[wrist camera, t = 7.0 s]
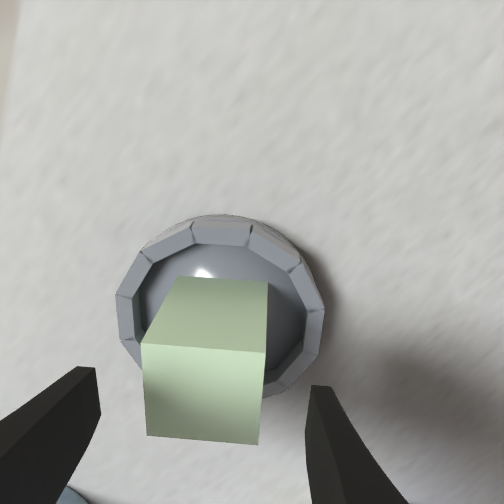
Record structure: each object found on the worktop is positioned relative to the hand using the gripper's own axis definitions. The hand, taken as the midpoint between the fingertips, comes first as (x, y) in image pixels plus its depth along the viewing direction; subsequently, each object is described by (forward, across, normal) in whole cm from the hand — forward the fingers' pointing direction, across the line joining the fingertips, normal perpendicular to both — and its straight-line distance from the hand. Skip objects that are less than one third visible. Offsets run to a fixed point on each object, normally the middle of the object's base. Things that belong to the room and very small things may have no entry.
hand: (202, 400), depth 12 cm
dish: (+6, 0, 0) cm, 6 cm away
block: (+5, 0, 0) cm, 5 cm away
